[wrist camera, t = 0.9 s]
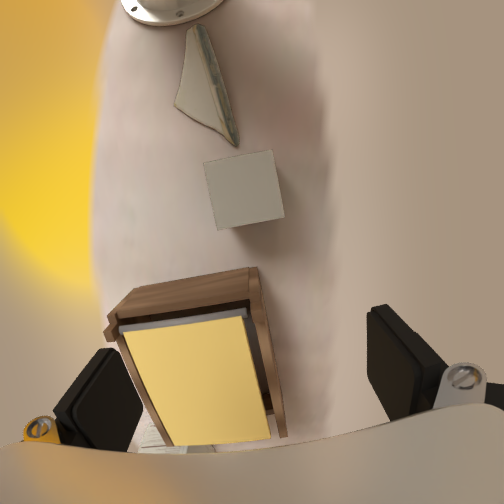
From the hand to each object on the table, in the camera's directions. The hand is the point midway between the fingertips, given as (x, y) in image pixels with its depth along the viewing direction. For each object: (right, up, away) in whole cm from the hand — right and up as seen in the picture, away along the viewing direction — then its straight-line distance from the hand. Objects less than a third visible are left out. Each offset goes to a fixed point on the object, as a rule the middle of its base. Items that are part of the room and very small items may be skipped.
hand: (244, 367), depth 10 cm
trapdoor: (-4, -8, +15) cm, 18 cm away
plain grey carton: (0, +10, +18) cm, 21 cm away
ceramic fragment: (-4, +20, +16) cm, 26 cm away
